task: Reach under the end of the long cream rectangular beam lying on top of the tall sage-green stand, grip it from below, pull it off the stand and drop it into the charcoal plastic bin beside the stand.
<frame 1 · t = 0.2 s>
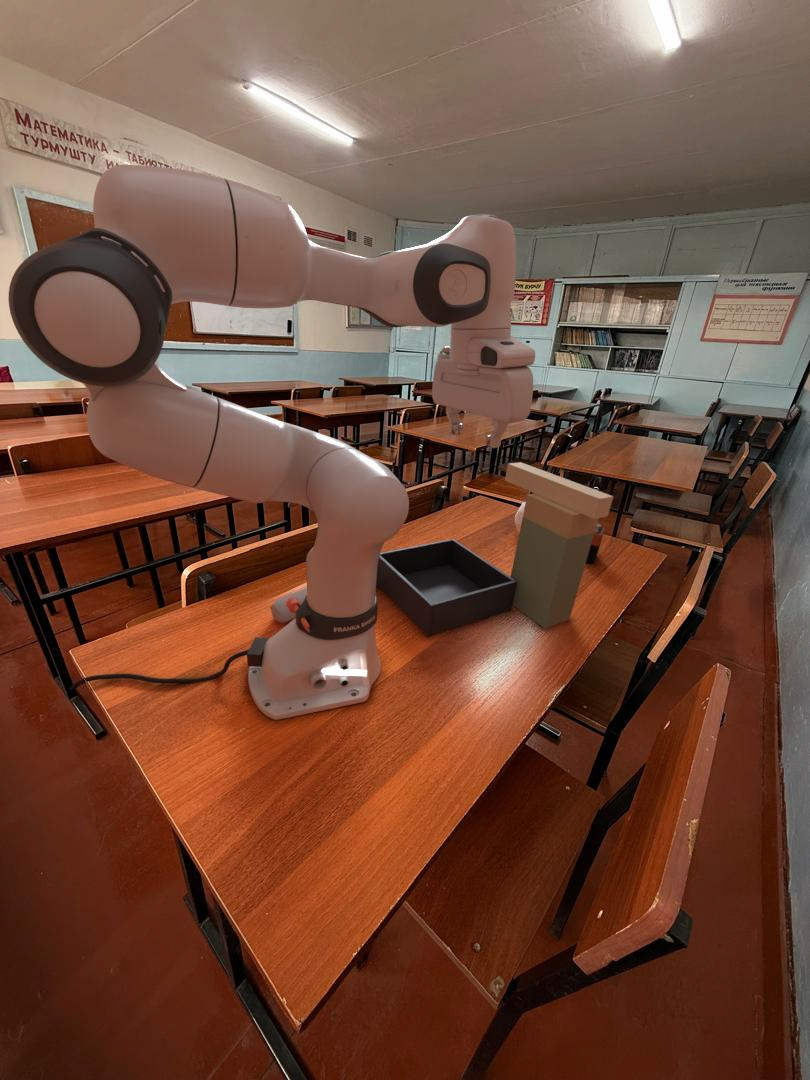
hand: (473, 440, 72), 39 cm above the table, tool pointing down, fingers open, 8 cm apart
stand: (536, 609, 99), on the table
battery: (587, 558, 125), on the table
bin: (440, 595, 101), on the table
cream rectangular beam: (551, 497, 90), point 26 cm above the table, touching stand
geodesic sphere: (534, 541, 134), on the table
tube: (325, 603, 95), on the table
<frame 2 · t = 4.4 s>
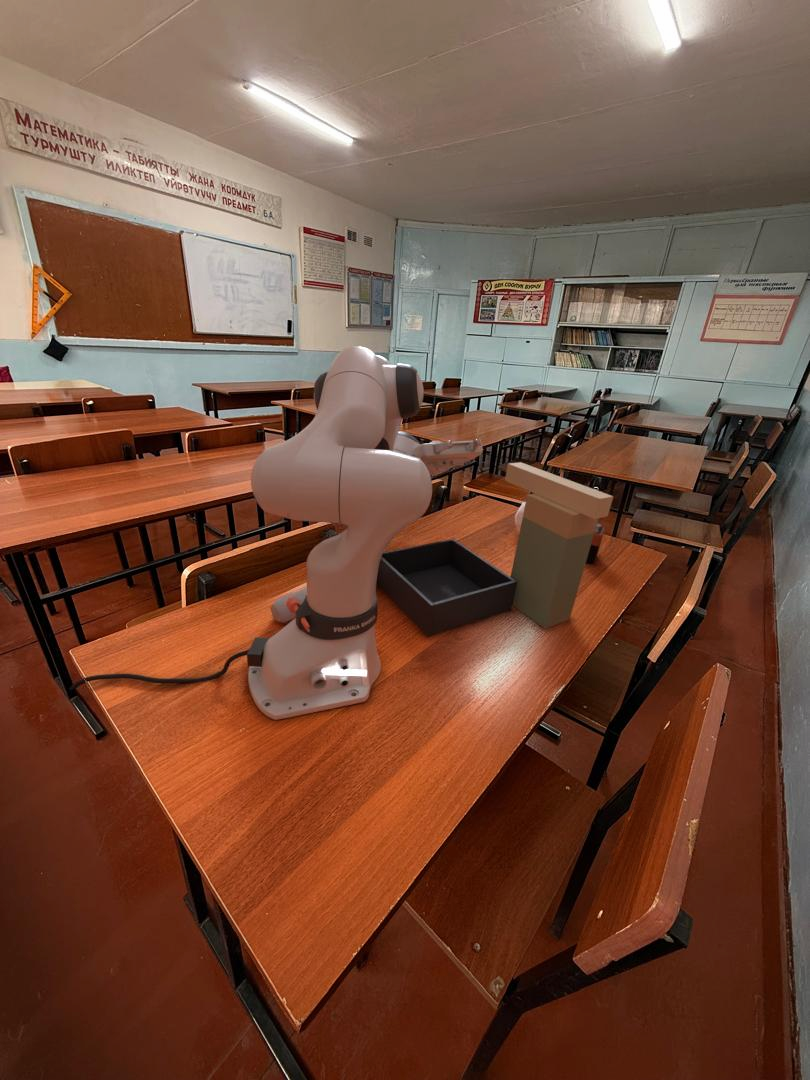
hand: (465, 442, 111), 30 cm above the table, tool pointing upward, fingers open, 8 cm apart
nothing on the table moved.
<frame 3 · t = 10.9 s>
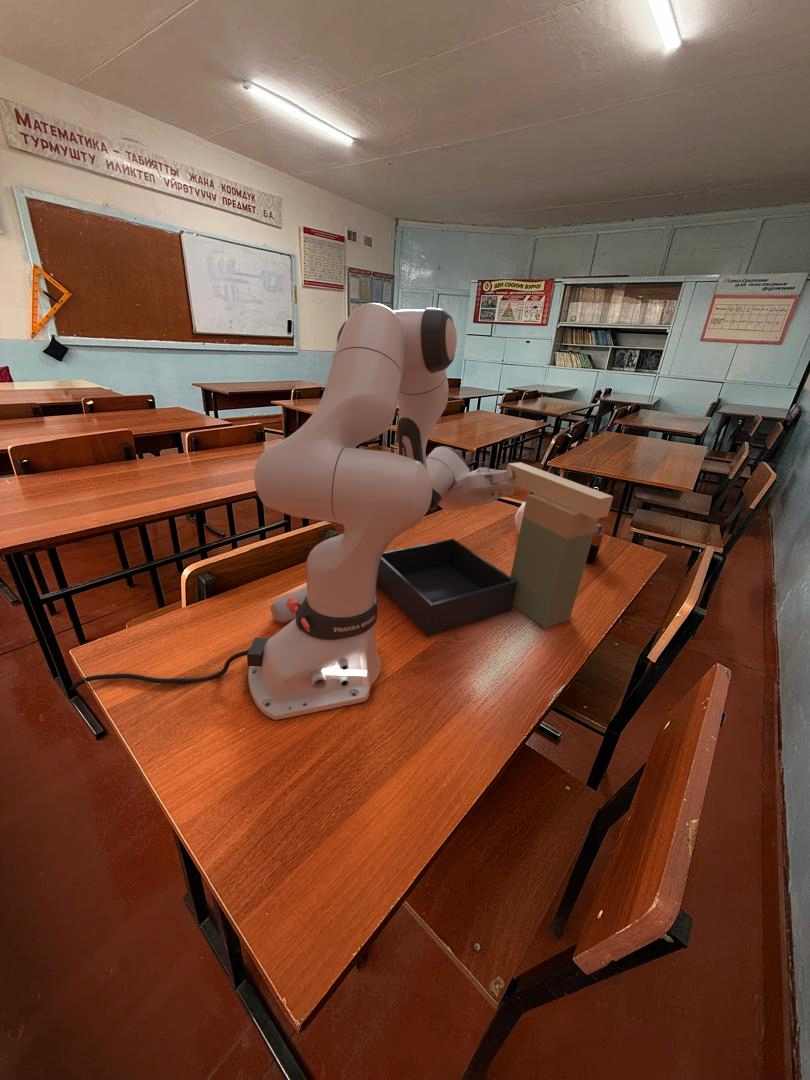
hand: (521, 472, 96), 28 cm above the table, tool pointing upward, fingers closed on cream rectangular beam, 4 cm apart
cream rectangular beam: (551, 497, 90), point 26 cm above the table, touching gripper, stand
everything else where it was.
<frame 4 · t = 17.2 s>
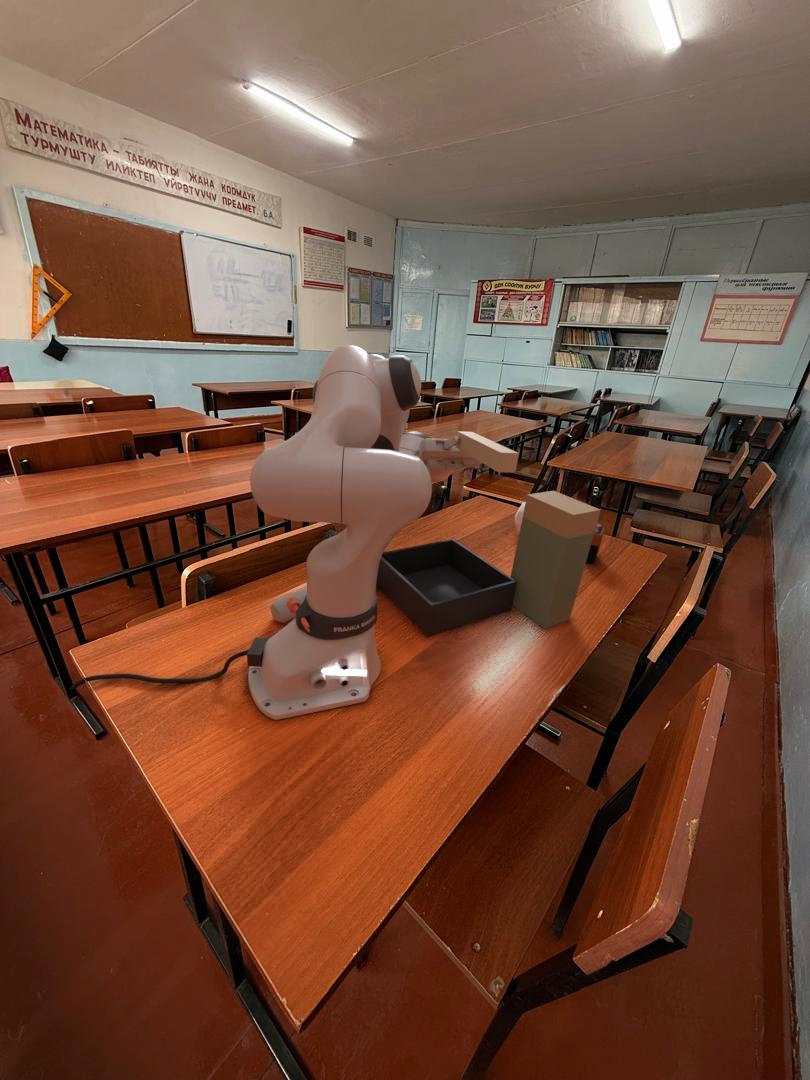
hand: (468, 439, 106), 32 cm above the table, tool pointing upward, fingers closed on cream rectangular beam, 4 cm apart
cream rectangular beam: (482, 458, 99), point 30 cm above the table, touching gripper
everything else where it was.
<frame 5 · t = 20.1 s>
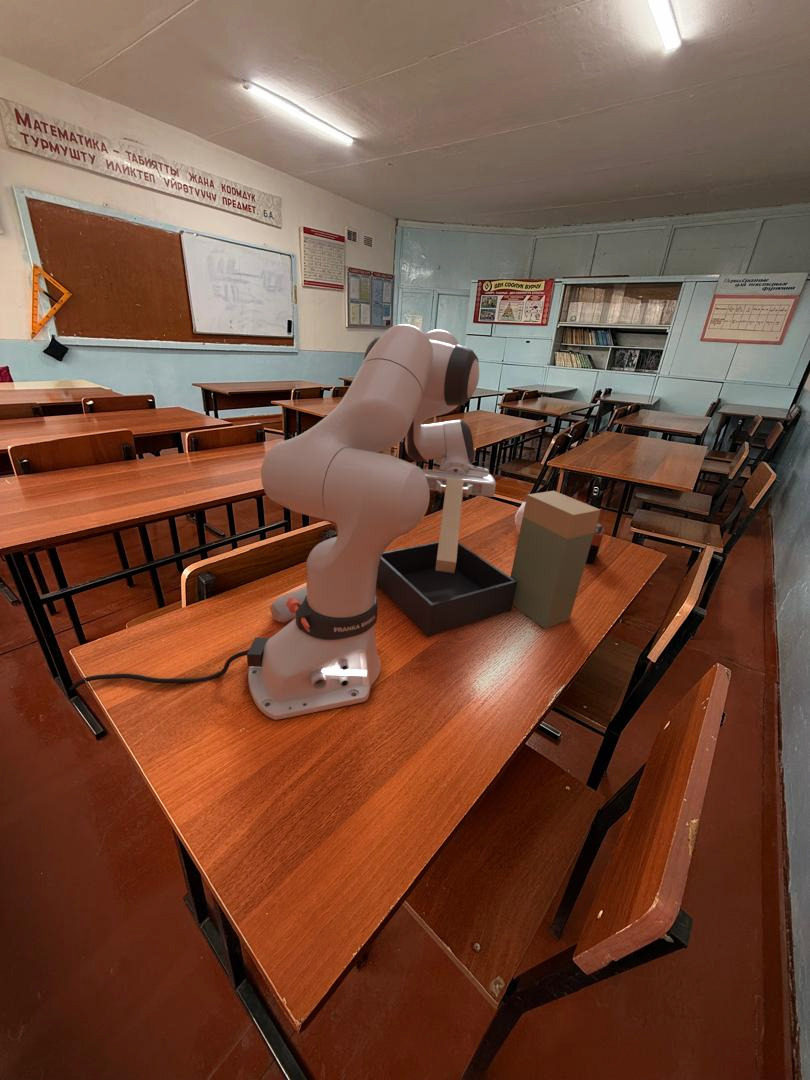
hand: (453, 491, 103), 22 cm above the table, tool horizontal, fingers closed on cream rectangular beam, 4 cm apart
cream rectangular beam: (449, 528, 99), point 15 cm above the table, tilted 28°, touching gripper
everything else where it was.
when the fingers open (13 cm above the table, at t = 23.6 s): cream rectangular beam drops 2 cm, resting on bin.
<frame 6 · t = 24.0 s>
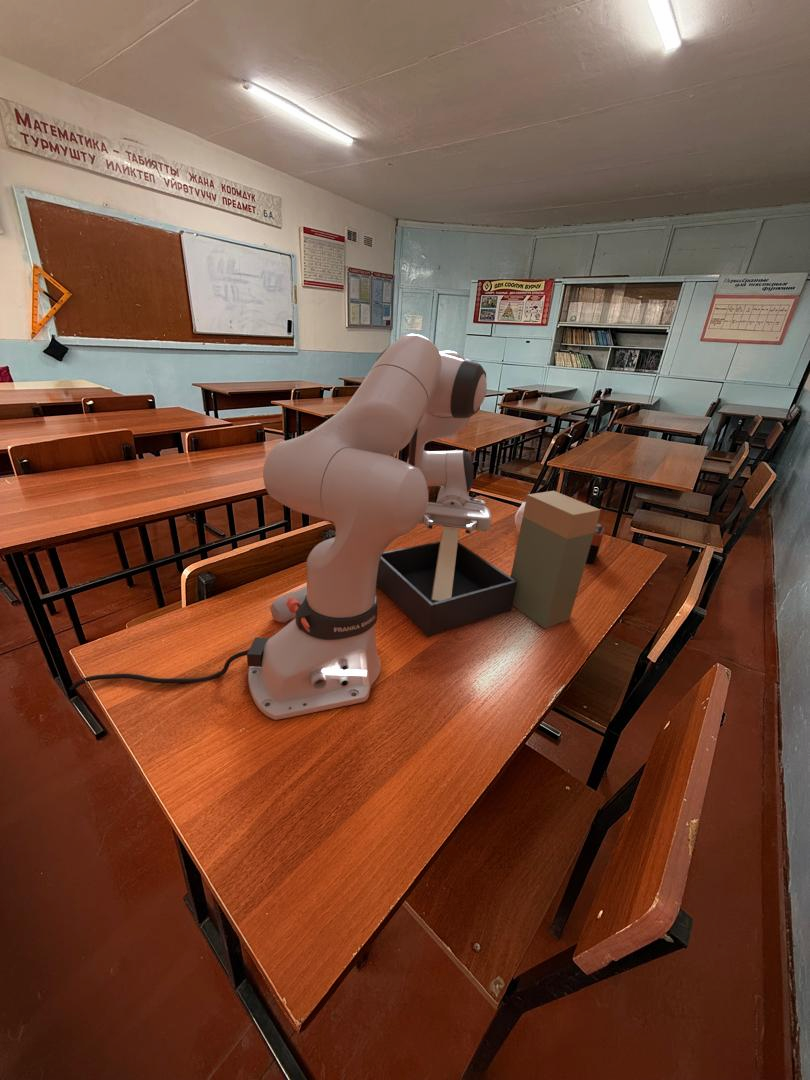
hand: (449, 528, 104), 13 cm above the table, tool horizontal, fingers open, 8 cm apart
cream rectangular beam: (443, 572, 102), point 4 cm above the table, tilted 18°, touching bin
everything else where it was.
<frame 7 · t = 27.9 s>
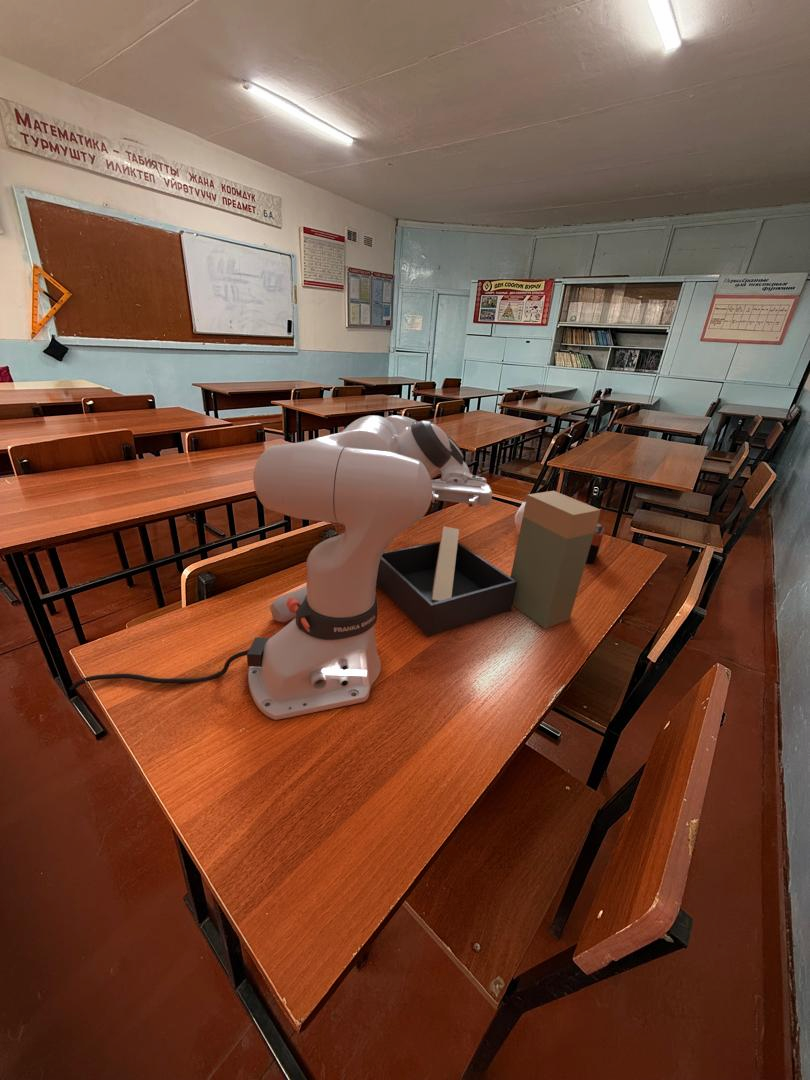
hand: (453, 502, 113), 16 cm above the table, tool horizontal, fingers open, 8 cm apart
nothing on the table moved.
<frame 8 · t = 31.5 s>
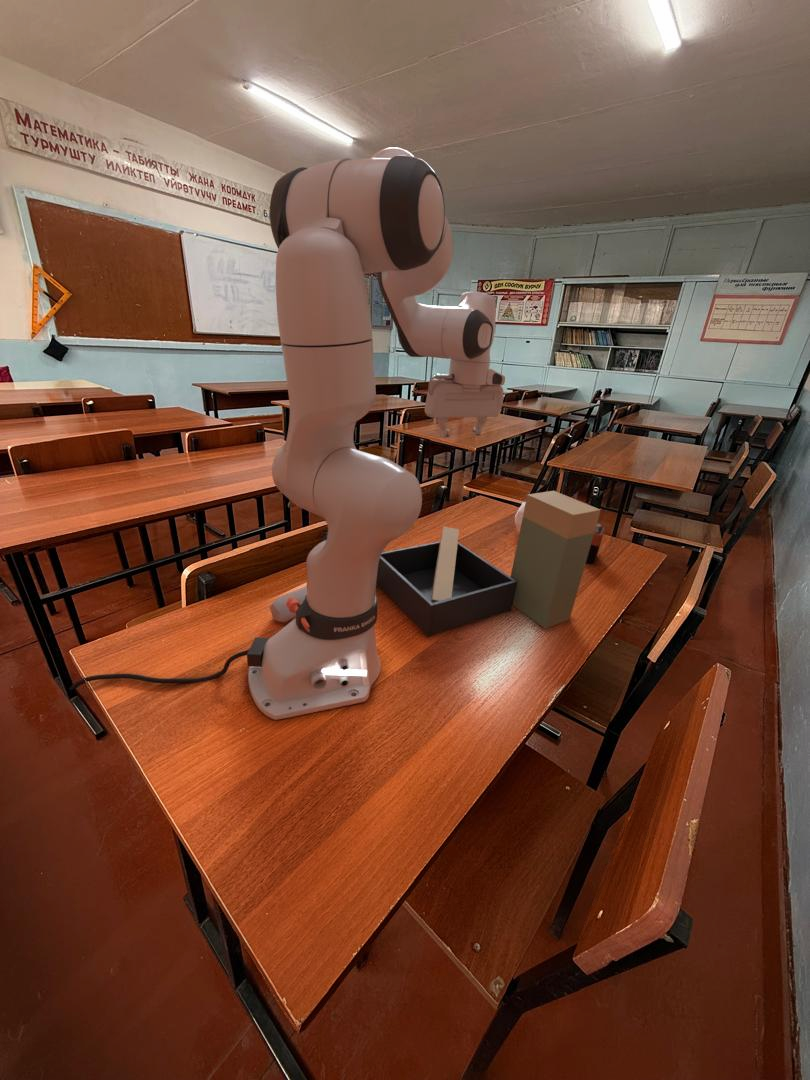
hand: (460, 436, 104), 33 cm above the table, tool pointing down, fingers open, 8 cm apart
nothing on the table moved.
at the end: cream rectangular beam inside the target area in the bin (3.2 cm from its centre), point 4.3 cm above the bin's base; the gripper is holding nothing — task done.
